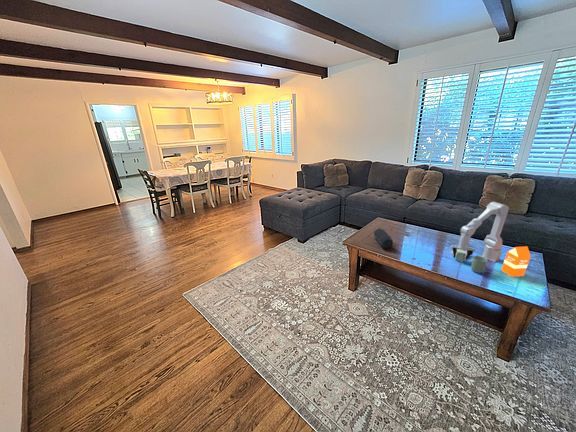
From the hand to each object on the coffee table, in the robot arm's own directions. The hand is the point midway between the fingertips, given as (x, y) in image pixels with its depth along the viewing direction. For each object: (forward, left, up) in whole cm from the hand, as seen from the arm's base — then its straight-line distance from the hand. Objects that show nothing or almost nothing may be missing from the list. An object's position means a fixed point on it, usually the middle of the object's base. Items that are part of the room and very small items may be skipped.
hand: (460, 258), depth 178 cm
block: (0, 0, -2) cm, 2 cm away
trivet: (+4, -9, -2) cm, 10 cm away
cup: (-14, +6, -2) cm, 15 cm away
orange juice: (-27, -12, -2) cm, 30 cm away
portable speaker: (+50, +26, -2) cm, 56 cm away
